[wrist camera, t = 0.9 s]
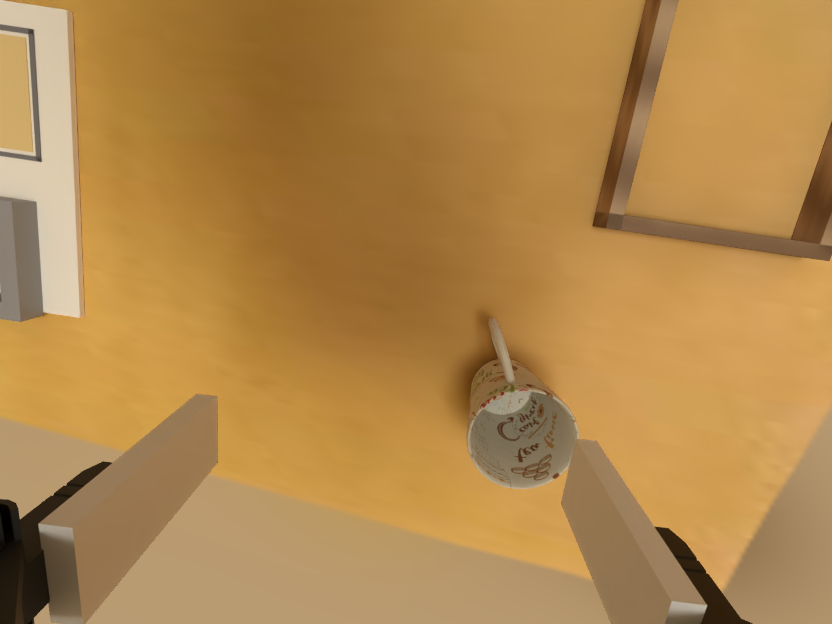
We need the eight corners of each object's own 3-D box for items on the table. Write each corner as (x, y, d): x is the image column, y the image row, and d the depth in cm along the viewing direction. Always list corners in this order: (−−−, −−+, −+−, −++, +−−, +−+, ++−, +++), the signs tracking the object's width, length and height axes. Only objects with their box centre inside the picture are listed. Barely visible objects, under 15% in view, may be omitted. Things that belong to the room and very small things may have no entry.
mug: (471, 434, 44) (482, 500, 34) (437, 317, 41) (439, 352, 31) (553, 414, 43) (589, 476, 33) (525, 294, 40) (554, 322, 31)
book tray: (666, -87, 33) (689, -116, 30) (908, -51, 33) (954, -76, 30) (592, 226, 39) (605, 227, 36) (799, 256, 39) (829, 261, 36)
